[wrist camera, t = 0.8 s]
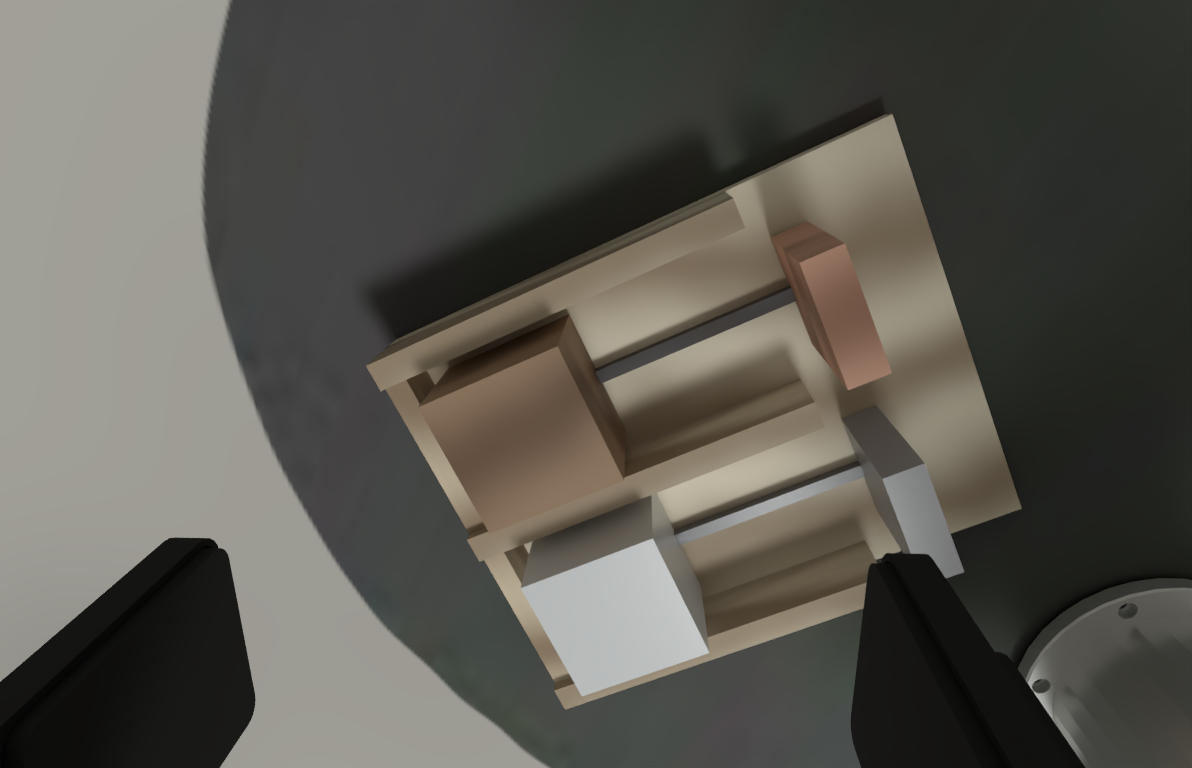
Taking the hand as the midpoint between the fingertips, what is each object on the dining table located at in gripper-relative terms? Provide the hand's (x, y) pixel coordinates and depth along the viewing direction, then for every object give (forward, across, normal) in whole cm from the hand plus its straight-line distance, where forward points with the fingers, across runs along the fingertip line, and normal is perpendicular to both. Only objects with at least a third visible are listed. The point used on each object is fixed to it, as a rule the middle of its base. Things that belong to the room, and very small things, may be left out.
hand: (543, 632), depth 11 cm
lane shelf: (+24, -4, +6) cm, 25 cm away
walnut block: (+23, -2, +2) cm, 23 cm away
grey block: (+23, -5, +11) cm, 26 cm away
